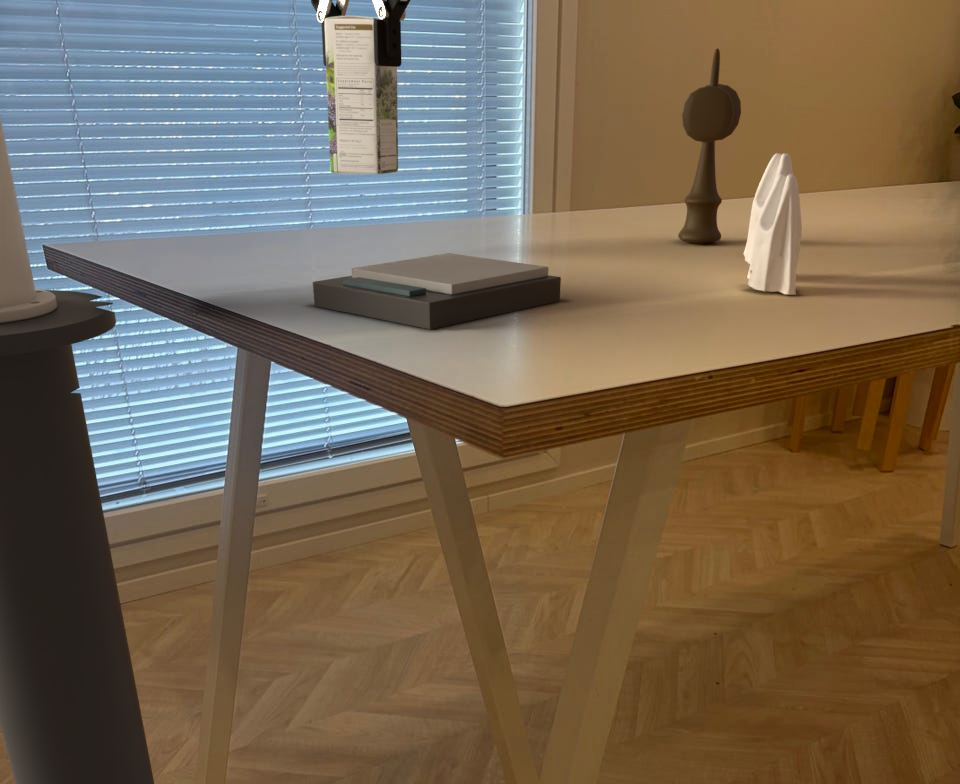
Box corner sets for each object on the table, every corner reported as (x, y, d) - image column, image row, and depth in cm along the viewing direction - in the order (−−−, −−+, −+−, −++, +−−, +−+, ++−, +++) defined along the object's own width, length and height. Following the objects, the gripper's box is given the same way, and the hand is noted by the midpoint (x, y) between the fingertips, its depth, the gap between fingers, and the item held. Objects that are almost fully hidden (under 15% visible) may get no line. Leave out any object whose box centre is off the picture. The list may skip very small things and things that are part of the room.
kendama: (728, 238, 125) (748, 49, 116) (721, 249, 117) (742, 46, 107) (678, 236, 127) (694, 49, 117) (668, 247, 118) (684, 47, 109)
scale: (430, 329, 79) (429, 291, 78) (314, 306, 87) (311, 271, 86) (560, 300, 89) (561, 267, 88) (445, 282, 98) (445, 251, 96)
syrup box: (351, 171, 114) (344, 19, 108) (400, 172, 113) (397, 19, 106) (329, 174, 110) (320, 15, 103) (380, 175, 108) (375, 14, 101)
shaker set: (740, 272, 102) (754, 150, 97) (783, 273, 102) (800, 150, 97) (749, 294, 92) (765, 158, 87) (797, 295, 91) (816, 158, 86)
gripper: (267, -140, 101) (281, 66, 109) (387, -166, 91) (392, 64, 99) (326, -128, 106) (335, 68, 114) (446, -151, 96) (447, 67, 104)
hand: (362, 65), depth 106 cm, fingers closed on syrup box, 7 cm apart
